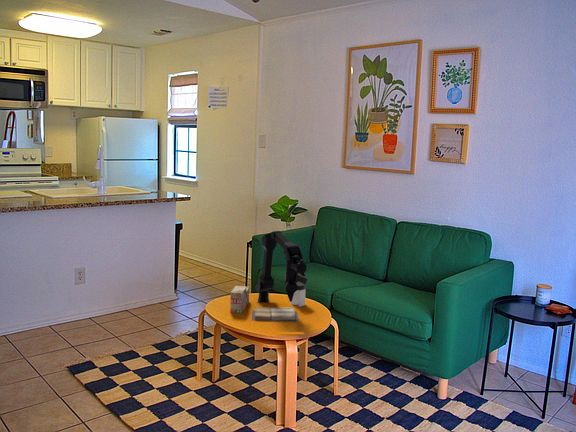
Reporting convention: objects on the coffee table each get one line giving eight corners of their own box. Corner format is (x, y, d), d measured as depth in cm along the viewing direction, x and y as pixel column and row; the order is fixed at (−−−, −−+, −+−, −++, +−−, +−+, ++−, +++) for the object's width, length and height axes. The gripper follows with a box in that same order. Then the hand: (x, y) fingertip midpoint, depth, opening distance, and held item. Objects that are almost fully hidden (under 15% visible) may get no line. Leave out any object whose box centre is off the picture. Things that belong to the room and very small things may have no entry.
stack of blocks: (238, 302, 309) (238, 281, 307) (249, 303, 308) (249, 281, 306) (230, 314, 288) (230, 291, 286) (241, 315, 287) (242, 292, 285)
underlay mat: (252, 312, 293) (252, 310, 293) (297, 313, 294) (297, 311, 294) (251, 322, 277) (251, 320, 277) (299, 323, 278) (299, 321, 278)
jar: (288, 302, 312) (289, 281, 310) (302, 301, 314) (303, 281, 312) (292, 307, 303) (292, 286, 302) (306, 306, 305) (307, 285, 304)
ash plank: (271, 311, 292) (271, 307, 292) (293, 310, 293) (293, 307, 292) (271, 320, 278) (271, 316, 278) (295, 319, 279) (295, 316, 278)
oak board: (255, 310, 292) (255, 307, 291) (270, 311, 292) (270, 307, 292) (254, 319, 278) (254, 316, 277) (270, 320, 278) (270, 316, 278)
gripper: (308, 274, 273) (307, 304, 275) (305, 265, 291) (304, 293, 294) (286, 273, 272) (285, 304, 275) (284, 264, 291) (283, 293, 293)
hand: (290, 298), depth 284 cm, fingers open, 9 cm apart
